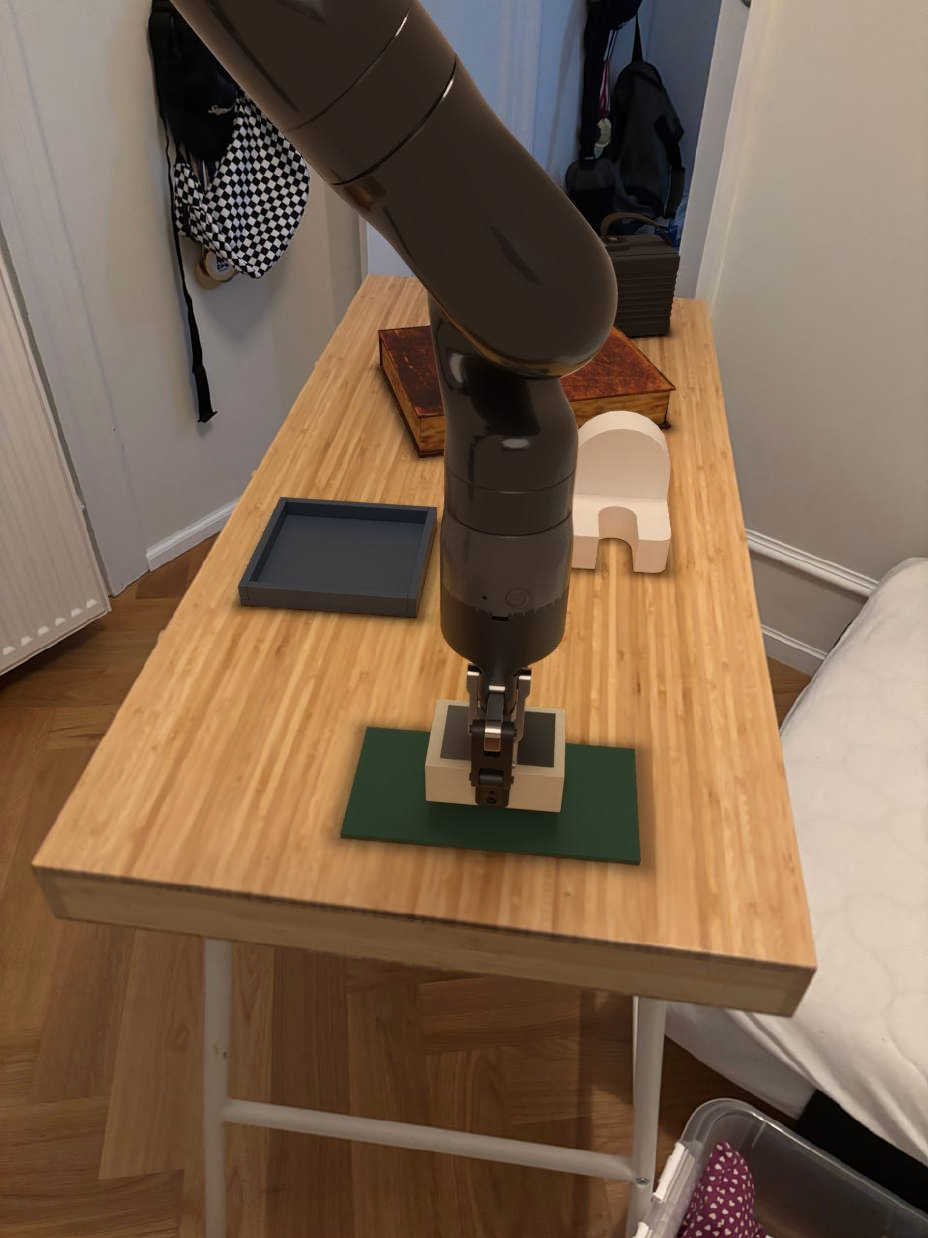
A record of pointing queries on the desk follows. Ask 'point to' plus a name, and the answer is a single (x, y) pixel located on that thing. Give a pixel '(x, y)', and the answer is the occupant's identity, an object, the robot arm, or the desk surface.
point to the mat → (583, 829)
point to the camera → (642, 277)
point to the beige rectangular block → (533, 757)
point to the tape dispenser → (622, 490)
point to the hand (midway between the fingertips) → (495, 763)
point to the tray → (341, 557)
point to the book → (591, 391)
